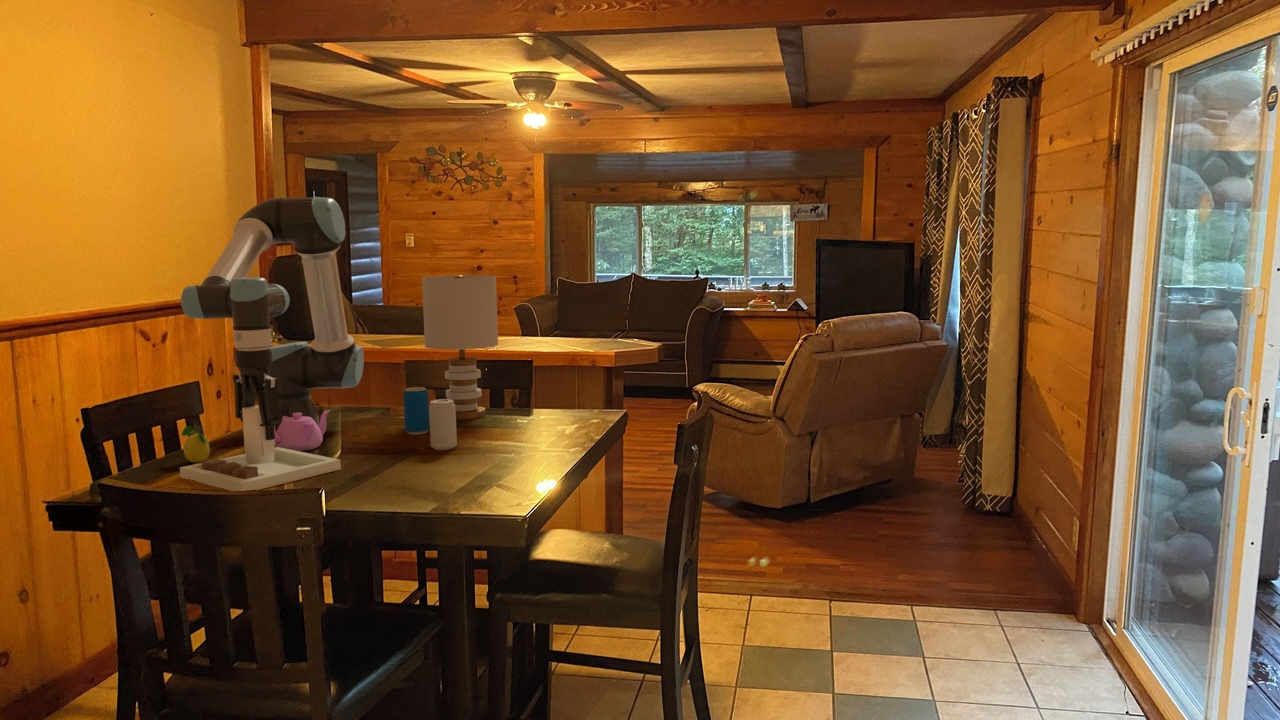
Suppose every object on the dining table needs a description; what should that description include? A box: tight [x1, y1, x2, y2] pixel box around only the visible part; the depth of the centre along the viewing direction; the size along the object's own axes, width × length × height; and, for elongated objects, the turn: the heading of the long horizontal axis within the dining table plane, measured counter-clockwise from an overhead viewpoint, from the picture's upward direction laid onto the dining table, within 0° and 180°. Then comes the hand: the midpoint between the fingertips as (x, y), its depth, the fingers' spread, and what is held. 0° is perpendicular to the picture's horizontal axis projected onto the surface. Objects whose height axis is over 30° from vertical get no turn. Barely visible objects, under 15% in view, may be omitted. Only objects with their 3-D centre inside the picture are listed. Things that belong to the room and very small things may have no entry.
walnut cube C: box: [232, 466, 258, 480], centre depth 204 cm, size 4×4×4 cm
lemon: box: [181, 423, 211, 464], centre depth 225 cm, size 7×6×10 cm
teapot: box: [274, 409, 331, 452], centre depth 243 cm, size 12×14×9 cm
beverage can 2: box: [429, 398, 458, 451], centre depth 239 cm, size 6×6×12 cm
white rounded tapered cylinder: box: [242, 404, 275, 464], centre depth 213 cm, size 6×6×12 cm
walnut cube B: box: [217, 462, 241, 476], centre depth 208 cm, size 4×4×4 cm
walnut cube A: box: [200, 458, 226, 473], centre depth 211 cm, size 4×4×4 cm
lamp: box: [421, 274, 499, 421], centre depth 280 cm, size 21×21×41 cm
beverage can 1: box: [403, 386, 430, 436], centre depth 258 cm, size 6×6×12 cm
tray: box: [179, 446, 342, 492], centre depth 214 cm, size 24×24×3 cm
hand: (259, 452), depth 213 cm, fingers closed on white rounded tapered cylinder, 6 cm apart
